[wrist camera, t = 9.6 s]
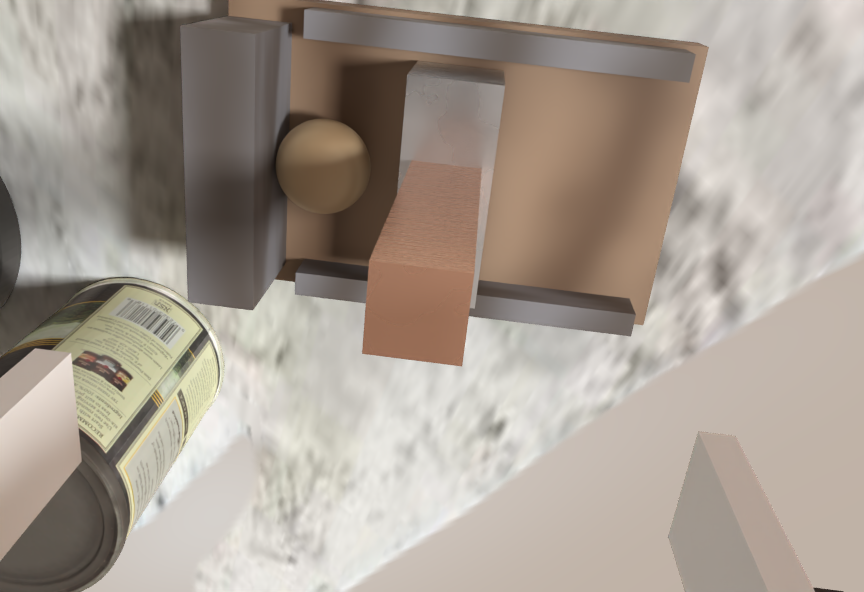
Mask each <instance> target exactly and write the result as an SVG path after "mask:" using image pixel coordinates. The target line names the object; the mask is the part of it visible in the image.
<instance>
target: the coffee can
mask: <svg viewBox="0 0 864 592" xmlns="http://www.w3.org/2000/svg"><path fill="white" fill-rule="evenodd" d="M35 348H36V349H44V350H52V351H60V352H68V353H71V358H72V368H73V378H74V388H75V398H76V408H77V418H78V428H79V438H80V449H81V459H82V462H81V463H80V464H79V465H78V466H77V468H76V469H75V470H74V471H73V473H72V474H71V475H70V476H69V477H68V479H67V480H66V481H65V482H64V484H63V485H62V486H61V487H60V488H59V490H58V491H57V492H56V493H55V495H54V496H53V497H52V498H51V499H50V501H49V502H48V503H47V504H46V506H45V507H44V508H43V509H42V511H41V512H40V513H39V514H38V515H37V517H36V518H35V519H34V520H33V522H32V523H31V524H30V525H29V526H28V528H27V529H26V530H25V531H24V533H23V534H22V535H21V536H20V537H19V539H18V540H17V541H16V542H15V544H14V545H13V546H12V547H11V549H10V550H9V551H8V552H7V553H6V555H5V556H4V557H3V558H2V560H1V561H0V592H81V591H83V590H85V589H87V588H89V587H91V586H92V585H94V584H95V583H97V582H98V581H99V580H101V579H102V578H103V577H104V576H105V575H106V573H108V571H109V570H110V569H111V568H112V566H113V565H114V563H115V562H116V560H117V558H118V557H119V555H120V553H121V551H122V549H123V546H124V544H125V540H126V538H127V537H128V535H129V534H130V532H131V530H132V529H133V527H134V526H135V524H136V522H137V521H138V519H139V518H140V516H141V515H142V513H143V511H144V510H145V508H146V507H147V505H148V503H149V502H150V500H151V499H152V497H153V495H154V494H155V492H156V491H157V489H158V487H159V486H160V484H161V483H162V481H163V479H164V478H165V476H166V475H167V473H168V471H169V470H170V468H171V467H172V465H173V464H174V462H175V461H176V459H177V457H178V455H179V454H180V452H181V451H182V449H183V448H184V446H185V444H186V443H187V441H188V440H189V438H190V437H191V435H192V434H193V432H194V430H195V429H196V427H197V426H198V424H199V422H200V421H201V419H202V417H203V416H204V414H205V413H206V411H207V410H208V409H209V408H210V407H211V405H212V404H213V403H214V401H215V400H216V398H217V396H218V394H219V392H220V389H221V386H222V382H223V376H224V360H223V355H222V350H221V347H220V343H219V340H218V338H217V336H216V334H215V332H214V330H213V328H212V327H211V325H210V324H209V322H208V321H207V319H206V318H205V317H204V316H203V315H202V313H201V312H200V311H199V310H198V309H197V308H196V307H195V306H193V305H192V304H191V303H190V302H188V301H187V300H186V299H185V298H183V297H182V296H180V295H179V294H177V293H176V292H174V291H172V290H170V289H168V288H166V287H164V286H161V285H159V284H156V283H153V282H150V281H146V280H140V279H136V278H113V279H107V280H103V281H99V282H97V283H94V284H92V285H89V286H87V287H86V288H84V289H82V290H81V291H79V292H78V293H76V294H75V295H74V296H73V297H72V298H71V299H70V300H69V301H68V303H67V304H66V305H64V306H63V307H62V308H61V309H60V310H59V311H57V312H56V313H55V314H54V315H52V316H51V317H50V318H49V319H47V320H46V321H45V322H44V323H42V324H41V325H40V326H39V327H37V328H36V329H35V330H34V331H32V332H31V333H30V334H29V335H28V336H26V337H25V338H24V339H23V340H21V341H20V342H19V343H18V344H17V345H15V346H14V347H13V348H12V349H10V350H9V351H8V352H7V353H6V354H4V355H3V356H2V357H1V358H0V378H1V377H2V376H3V375H4V374H6V373H7V372H8V371H9V370H10V369H12V368H13V367H14V366H15V365H16V364H17V363H19V362H20V361H21V360H22V359H23V358H24V357H26V356H27V355H28V354H29V353H30V352H31V351H33V350H34V349H35Z"/></svg>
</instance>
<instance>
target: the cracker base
mask: <svg viewBox="0 0 864 592" xmlns="http://www.w3.org/2000/svg"><path fill="white" fill-rule="evenodd" d="M180 39H181V74H182V109H183V144H184V179H185V214H186V249H187V284H188V302H191V303H199V304H207V305H215V306H223V307H231V308H238V309H246V310H253V309H254V308H255V306H256V305H257V304H258V302H259V301H260V299H261V298H262V296H263V295H264V294H265V292H266V291H267V289H268V288H269V286H270V285H271V284H272V282H273V281H274V279H277V280H285V281H293V282H295V294H296V295H304V296H312V297H320V298H328V299H336V300H344V301H352V302H360V303H366V296H367V283H368V269H369V260H370V257H371V255H372V253H373V250H374V248H375V245H376V243H377V241H378V238H379V236H380V234H381V231H382V229H383V227H384V224H385V222H386V220H387V217H388V215H389V213H390V210H391V208H392V205H393V203H394V201H395V198H396V196H397V189H398V177H399V165H400V154H401V142H402V131H403V119H404V107H405V96H406V84H407V74H408V73H409V72H410V71H411V69H412V68H413V67H414V65H415V64H416V63H417V62H418V61H424V62H432V63H441V64H450V65H458V66H467V67H476V68H484V69H493V70H502V71H504V77H505V90H504V97H503V105H502V112H501V119H500V127H499V134H498V141H497V149H496V156H495V163H494V171H493V178H492V185H491V193H490V200H489V207H488V215H487V222H486V229H485V237H484V244H483V251H482V259H481V266H480V273H479V281H478V288H477V295H476V303H475V309H474V308H470V310H469V316H473V317H481V318H489V319H497V320H505V321H513V322H521V323H529V324H537V325H545V326H553V327H561V328H569V329H577V330H585V331H593V332H601V333H609V334H617V335H625V336H631V334H632V329H633V325H634V324H638V325H643V324H644V320H645V315H646V311H647V307H648V303H649V298H650V294H651V290H652V286H653V281H654V277H655V273H656V269H657V264H658V260H659V256H660V252H661V247H662V243H663V239H664V235H665V230H666V226H667V222H668V218H669V214H670V209H671V205H672V201H673V197H674V192H675V188H676V184H677V180H678V175H679V171H680V167H681V163H682V158H683V154H684V150H685V146H686V141H687V137H688V133H689V129H690V125H691V120H692V116H693V112H694V108H695V103H696V99H697V95H698V91H699V86H700V82H701V78H702V74H703V69H704V65H705V61H706V57H707V52H708V48H709V47H707V46H704V45H702V44H700V43H694V42H685V41H677V40H668V39H659V38H650V37H641V36H633V35H624V34H615V33H606V32H597V31H589V30H580V29H571V28H562V27H553V26H544V25H536V24H527V23H518V22H509V21H500V20H492V19H483V18H474V17H465V16H456V15H447V14H439V13H430V12H421V11H412V10H403V9H395V8H386V7H377V6H368V5H359V4H351V3H342V2H333V1H324V0H228V16H225V17H220V18H215V19H210V20H205V21H200V22H196V23H191V24H186V25H181V26H180Z"/></svg>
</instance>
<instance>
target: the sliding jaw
mask: <svg viewBox="0 0 864 592" xmlns="http://www.w3.org/2000/svg"><path fill="white" fill-rule="evenodd" d="M504 90H505V77H504V71H502V70H493V69H484V68H476V67H467V66H458V65H450V64H441V63H432V62H424V61H418V62H417V63H416V64H415V65H414V67H413V68H412V69H411V71H410V72H409V73H408V74H407V84H406V96H405V107H404V119H403V131H402V142H401V154H400V165H399V177H398V189H397V196H396V198H395V201H394V203H393V205H392V208H391V210H390V213H389V215H388V217H387V220H386V222H385V224H384V227H383V229H382V231H381V234H380V236H379V238H378V241H377V243H376V245H375V248H374V250H373V253H372V255H371V257H370V260H369V269H368V283H367V296H366V310H365V323H364V337H363V350H362V354H369V355H377V356H385V357H393V358H401V359H409V360H417V361H424V362H432V363H440V364H448V365H456V366H462V362H463V355H464V347H465V340H466V332H467V325H468V317H469V310H470V308H474V309H475V303H476V295H477V288H478V281H479V273H480V266H481V259H482V251H483V244H484V237H485V229H486V222H487V215H488V207H489V200H490V193H491V185H492V178H493V171H494V163H495V156H496V149H497V141H498V134H499V127H500V119H501V112H502V105H503V97H504Z"/></svg>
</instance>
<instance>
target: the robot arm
mask: <svg viewBox="0 0 864 592" xmlns="http://www.w3.org/2000/svg"><path fill="white" fill-rule="evenodd" d="M20 260H21V238H20V230H19V224H18V220H17V215H16V212H15V209H14V205H13V203H12V200H11V198H10V195H9V193H8V191H7V188H6V186H5V184H4V182H3V181H2V179H1V177H0V308H1V307H2V306H3V305H4V303H5V302H6V301H7V299H8V297H9V296H10V294H11V292H12V290H13V287H14V285H15V282H16V279H17V276H18V272H19V267H20ZM81 462H82V459H81V449H80V438H79V428H78V418H77V408H76V398H75V388H74V378H73V368H72V358H71V353H68V352H60V351H52V350H44V349H36V348H35V349H34V350H33V351H31V352H30V353H29V354H28V355H27V356H26V357H24V358H23V359H22V360H21V361H20V362H19V363H17V364H16V365H15V366H14V367H13V368H12V369H10V370H9V371H8V372H7V373H6V374H4V375H3V376H2V377H1V378H0V561H1V560H2V558H3V557H4V556H5V555H6V553H7V552H8V551H9V550H10V549H11V547H12V546H13V545H14V544H15V542H16V541H17V540H18V539H19V537H20V536H21V535H22V534H23V533H24V531H25V530H26V529H27V528H28V526H29V525H30V524H31V523H32V522H33V520H34V519H35V518H36V517H37V515H38V514H39V513H40V512H41V511H42V509H43V508H44V507H45V506H46V504H47V503H48V502H49V501H50V499H51V498H52V497H53V496H54V495H55V493H56V492H57V491H58V490H59V488H60V487H61V486H62V485H63V484H64V482H65V481H66V480H67V479H68V477H69V476H70V475H71V474H72V473H73V471H74V470H75V469H76V468H77V466H78V465H79V464H80V463H81ZM668 538H669V541H670V544H671V548H672V551H673V554H674V557H675V561H676V564H677V567H678V570H679V574H680V577H681V580H682V584H683V587H684V590H685V592H843V591H836V590H828V589H820V588H813V587H812V585H811V583H810V581H809V579H808V577H807V575H806V573H805V571H804V569H803V567H802V565H801V563H800V561H799V559H798V557H797V555H796V553H795V551H794V549H793V547H792V545H791V544H790V542H789V540H788V538H787V536H786V534H785V532H784V530H783V528H782V526H781V524H780V522H779V520H778V518H777V516H776V514H775V512H774V510H773V508H772V506H771V504H770V503H769V500H768V498H767V496H766V495H765V492H764V491H763V489H762V487H761V485H760V483H759V481H758V479H757V477H756V475H755V473H754V471H753V469H752V467H751V465H750V463H749V461H748V459H747V457H746V455H745V453H744V451H743V449H742V448H741V446H740V444H739V442H738V440H737V438H736V436H732V435H724V434H716V433H708V432H698V434H697V438H696V441H695V445H694V448H693V451H692V455H691V458H690V462H689V466H688V469H687V472H686V476H685V480H684V484H683V487H682V490H681V493H680V497H679V500H678V504H677V508H676V511H675V514H674V518H673V521H672V525H671V528H670V532H669V535H668Z"/></svg>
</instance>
